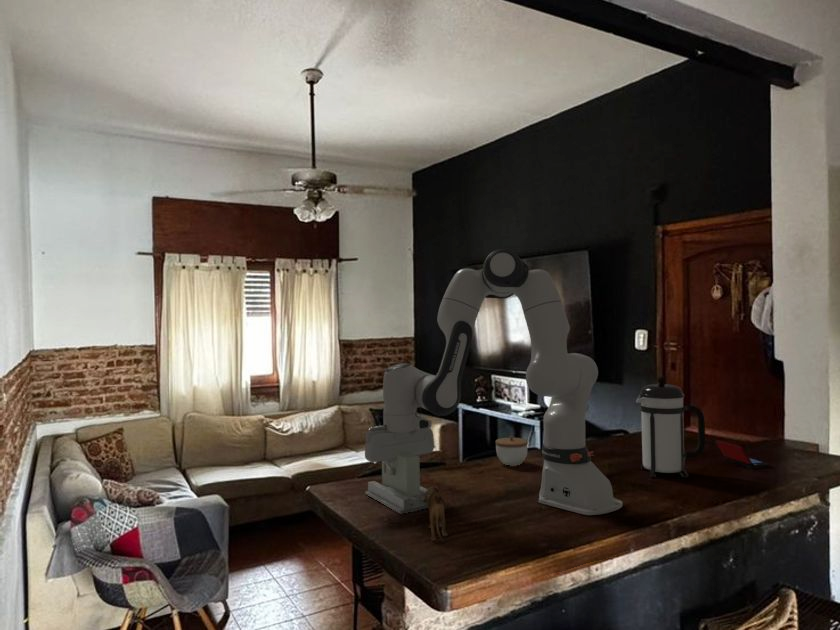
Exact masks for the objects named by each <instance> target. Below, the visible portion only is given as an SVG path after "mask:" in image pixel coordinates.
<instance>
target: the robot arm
mask: <svg viewBox="0 0 840 630" xmlns="http://www.w3.org/2000/svg"><path fill="white" fill-rule="evenodd" d="M514 295H515V296H516V297H517V298H518V300H519V302H520V305H521V309H522V312H523V315H524V316H523V317H524V319H525V323H526V327H527V330H528V334H529V338H530V346H531V347H530V351H531V353H530V354H531V355H530V356H531V357H530V362H529V364H528V366H527V369H526V372H525V380H526V385H527V387H528V388H529V389H530V391H531V392H532V393H534V394H535V395H538V396H542V397H548V398H551V399H550V403H549V405H548V408H547V409H546V411H545V413H544V415H543V418H542V419H543V443H542V445H541V446H542V449H541V452H542V453H541V454H542V455H541V457H542V458H543V467H542V474H541V485H540V490H539V494H538V503H540V504H542V505H546V506H550V507H553V508H554V507H555V508H558V509H562V510H564V511H565V510H566V511H569V512H573V513H576V514H580V515H584V516H596V515H597V516H598V515H604V514H608V513H611V512H615V511H617V510H619V509H622V507H623V506H624V505H623V504H624V503H623V501H622V500H620V499H618V498H616V497H614V493H613V486H612V484H611V481H610V480H609V478H607V477H606V475H605V474H603V472H602V471H601V470H600V469H599V468H598V467H597V466H596V465H595V464H594V463H593V462H592V461H591V460H592V458H591V457H592V456H594V454H593V453H594V451H593V450H591V451H589V449H588V446H587V445H586V417H587V416H586V415H587V409H588V404H589V400H590V394H591V391H592V388H593V386H594V384H595V383H596V381H597V380H598V376H599V369H598V366H597V364H596V362H595V361H594V359H592V357H590V356H588V355H585V354H582V353H577V352H571V353H568V348H567V343H568V342H567V341H568V340H567V339H568V335H569V332H570V324H569V320H568V317H567V314H566V310H565V308H564V305H563V304H564V303H563V300H562V298H561V295H560V293H559V291H558V288H557V286H556V283H555V282H554V279H553V278H552V276H551V274H550V273H549V272H548V271H547V270H544V269H539V268H538V269H537V268H536V269H531V270H530V268H529V266H528V264H527V263H526V262H524V261H523V260H522V259H521V258H520V257H519V255H517V254H516V253H515V252H513V251H512V250H510V249H506V248H499V249H496V250H493V251H492V252H490V253H489V254H488V255H487V257H486V258H485V260H484V262H483V265H482V268H481V269H478V270H477V269H473V268H466V267H465V268H462V269H459V270H458V271H456V273H455V274H454V275H453V277H452V278H451V280H450V281H449V283H448V286H447V288H446V290H445V293H444V295H443V297H442V299H441V302H440V305H439V308H438V312H437V316H436V317H437V320H436V321H437V325H438V327H439V328H440V330H441V331H442V333H443V334H444V336H445V341H446V342H445V348H444V353H443V355H442V359H441V363H440V366H439V368H438V372H437V373H436V375H435V374H431V373H429V372H425V371H423V370H420V369H418V368H417V367H415V366H414V365H412V364H411V363H406V362H403V363H397V364H394V365H390V366H389V367H387V368H386V369H385V371H384V375H383V384H382V397H383V402H384V408H383V411H382V414H383V418H382V419H383V424H382V425H376V426H370V427H369V428H368V429H367V430H366V431H365V434H364V435H365V437H364V438H365V446H364V447H365V448H364V458H365V459H366V460H367V461H368V462H370V463H378V462H382V461H384V463H385V465H386V467H387V468H388V475H390V476H392V475H395V474H396V473H395V471H396V469H395V468H392V466H391V465H390V463H392V459H397V455H398V454H404V453H412V454H415V455H417V456H421V455H427V454H431V453H432V452H433V451H434V449H435V439H434V433H433V430H432V428H431V427H432V426H433V425H432V421H431V420H430V419H428V418H424V417H421V416H418V415H416V410H417V408H422V409H424V410H427V411H428V412H430V413H432V414H433V415H434V416H438V417H444V416H448V415H451V414H452V413H453V412H455V410H456V409H457V408H458V407H459V405H460V403H461V399H462V388H461V387H462V378H463V374H464V371H465V367H466V364H467V359H468V356H469V352H470V349H471V344H472V340H473V335H474V334H473V332H474V329H475V324H476V321H477V318H478V315H479V312H480V310H481V308H482V304H483V302H484V300H485V299H486V298H487V299H508V298H511V297H512V296H514Z"/></svg>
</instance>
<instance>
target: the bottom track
mask: <svg viewBox="0 0 840 630" xmlns="http://www.w3.org/2000/svg"><path fill="white" fill-rule="evenodd" d="M367 487H368V488H367V490H366V491H364V494H367V495H368V496H370V497H372V498H374V499H375V500H377V501H379V502H381V503H382V504H384V505H386V506H387V507H389V508H391V509H392V511H393V510H394V511H393V512H395V511H396V512H398V513H400V514H402V515H404V514H403V513H406V514H409V513H408V512H411V513H414V511H415V512H418V510H419V511H422V510H421V509H424V510H426V509H425V508H428V505H427V503H424V502H423V500H422V498H421V496H422V495H423V494H425V492H426V491H427V490H428V488H426V487H424V486H421V485H420V494H416V495H412V496H405V495H403V494H401V493H399V492H397V491H396V490H394V489H392V488H390V487H388V486H386V485H384V484H381V483H379V482H377V481H376V480H373V481H368V482H367ZM368 496H367V497H368ZM375 500H374V501H375ZM377 501H376V502H377ZM382 504H381V505H382ZM384 505H383V506H384ZM386 506H385V507H386ZM387 507H386V508H387ZM389 508H388V509H389ZM391 509H390V510H391ZM428 509H429V508H428ZM396 512H395V513H396ZM398 513H397V514H398ZM400 514H399V515H400Z"/></svg>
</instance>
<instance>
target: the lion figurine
mask: <svg viewBox="0 0 840 630" xmlns="http://www.w3.org/2000/svg"><path fill="white" fill-rule="evenodd" d="M427 489H428V490H427V491H426V492H425V494H423V495H422V496H421V498H422V500H423V502H424V503H427V505H428V511H429V514H428V515H429V522H430V524H428V528H429V529H430V531H431V532H430V533H431V537H430V541H432V542H434V541H436V539H437V538H436V532H437V535H438V537H439V540H440V541H441V542H445V539H444V537H448V535H449V534H448V532H446V518H445V517H446V516H445V515H446V514H445V505H446V503H445V499H444V498H443V495H442V493H441V492H440V490H439V489H438V488H437V487H435V486H427ZM440 527H441V532H440ZM435 528H436V531H435ZM441 533H442V534H441Z"/></svg>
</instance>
